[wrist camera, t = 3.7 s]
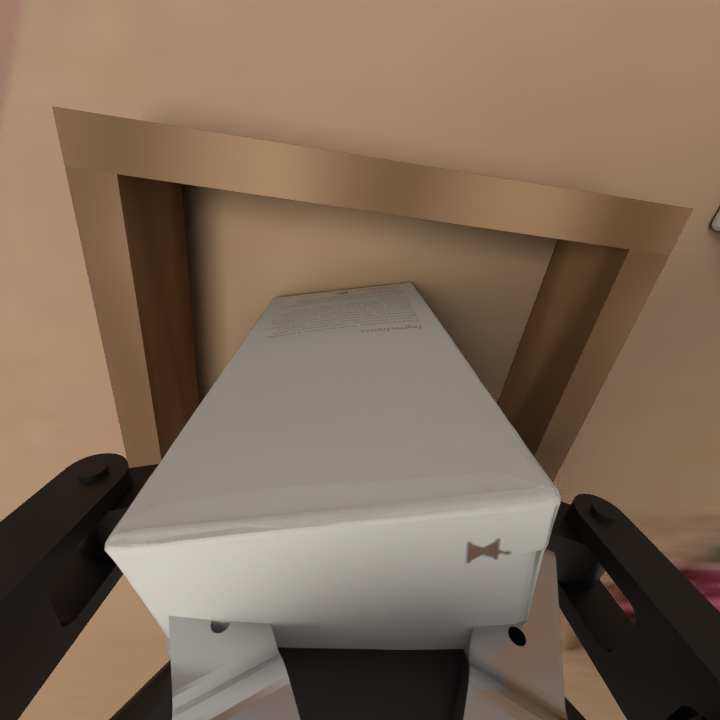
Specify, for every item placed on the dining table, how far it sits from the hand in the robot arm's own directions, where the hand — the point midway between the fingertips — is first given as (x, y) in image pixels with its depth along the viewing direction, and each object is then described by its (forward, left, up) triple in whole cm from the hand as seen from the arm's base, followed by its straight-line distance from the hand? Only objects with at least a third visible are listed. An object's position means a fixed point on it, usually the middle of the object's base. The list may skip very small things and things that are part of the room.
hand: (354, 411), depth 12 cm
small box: (0, 0, -3) cm, 3 cm away
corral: (0, 0, -3) cm, 3 cm away
